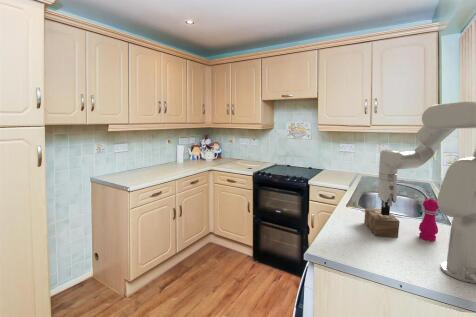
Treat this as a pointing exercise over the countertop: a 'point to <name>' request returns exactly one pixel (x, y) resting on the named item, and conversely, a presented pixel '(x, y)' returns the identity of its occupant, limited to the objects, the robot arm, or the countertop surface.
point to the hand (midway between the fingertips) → (385, 214)
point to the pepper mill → (429, 220)
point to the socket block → (381, 224)
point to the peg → (383, 217)
